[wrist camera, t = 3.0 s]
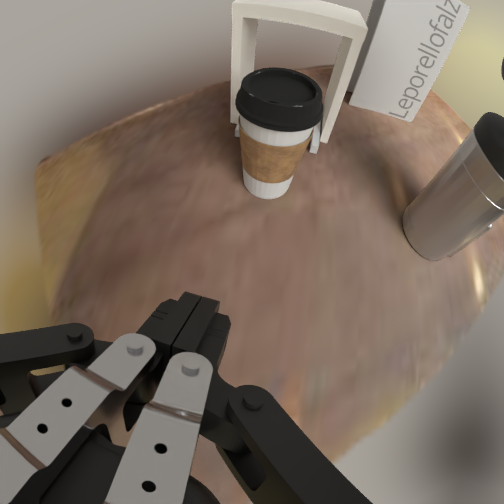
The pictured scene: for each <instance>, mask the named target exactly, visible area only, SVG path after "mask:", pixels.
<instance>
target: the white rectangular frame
mask: <svg viewBox="0 0 504 504" xmlns="http://www.w3.org/2000/svg"><path fill="white" fill-rule="evenodd" d="M258 19H264V20H272V21H279V22H285V23H291V24H296V25H301V26H306V27H310V28H316V29H319V30H324V31H327V32H331V33H335V34H338V35H342V36H343V37H342V41H341V44H340V48H339V51H338V54H337V58H336V61H335V65H334V68H333V71H332V75H331V78H330V82H329V85H328V88H327V92H326V95H325V98H324V102H323V114H322V118H321V121H320V122H319V123H318V124H317V125H315V126H314V132H313V135H312V137H311V144H310V153H314V154H316V153H317V150H318V147H319V141H320V142H324V143H327V142H328V139H329V137H330V134H331V131H332V129H333V126H334V123H335V120H336V118H337V115H338V112H339V109H340V107H341V104H342V101H343V98H344V96H345V93H346V90H347V87H348V84H349V81H350V79H351V76H352V73H353V70H354V67H355V64H356V61H357V58H358V55H359V52H360V49H361V46H362V43H363V42H364V40H365V37H366V34H367V31H368V28H367V26H366V24H365V22H364V20H363V18H362V16H361V14H360V12H359V11H356V10H353V9H350V8H346V7H343V6H340V5H336V4H332V3H328V2H324V1H320V0H235V1H234V2H233V3H232V52H231V116H230V123H235V124H237V126H236V128H235V137H240V135H239V125H238V117H239V112H238V111H237V109H236V105H235V100H236V95H237V93H238V90H239V89H240V87H241V83H242V80H243V78H244V77H245V76H246V75H248V74H249V73H251V72H253V71H254V62H255V50H256V38H257V27H258ZM320 125H321V128H320ZM319 137H320V140H319Z"/></svg>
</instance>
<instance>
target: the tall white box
mask: <svg viewBox="0 0 504 504" xmlns="http://www.w3.org/2000/svg"><path fill="white" fill-rule="evenodd" d="M469 10H470V8H469V7H468V6H466V5H465V4H463V3H462V2H460V1H459V0H373V3H372V6H371V10H370V13H369V16H368V19H367V23H366V26H367V28H368V31H367V34H366V37H365V40H364V42H363V43H362V46H361V49H360V52H359V55H358V58H357V61H356V64H355V67H354V70H353V73H352V76H351V79H350V81H349V84H348V87H347V90H346V91H348V92H353V93H352V96H351V98H350V101H349V103H348V104H349V105H352V106H356V107H360V108H364V109H368V110H372V111H376V112H379V113H383V114H386V115H389V116H393V117H396V118H399V119H402V120H405V121H408V122H412V120H413V118H414V117H415V115H416V113H417V112H418V110H419V108H420V106H421V105H422V103H423V101H424V99H425V98H426V96H427V94H428V92H429V91H430V89H431V87H432V85H433V83H434V81H435V80H436V78H437V76H438V74H439V72H440V70H441V68H442V66H443V64H444V63H445V60H446V58H447V57H448V55H449V53H450V51H451V49H452V47H453V45H454V43H455V41H456V39H457V36H458V34H459V32H460V30H461V28H462V26H463V24H464V21H465V19H466V17H467V15H468V12H469Z"/></svg>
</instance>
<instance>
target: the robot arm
mask: <svg viewBox="0 0 504 504" xmlns="http://www.w3.org/2000/svg"><path fill="white" fill-rule="evenodd" d="M502 77H503V80H504V59H503V62H502ZM502 215H504V117H502V116H500V115H498V114H496V113H492V112H488V113H485V114H484V115H483V116H482V117H481V118H480V120H479V121H478V122H477V124H476V125H475V127H474V128H473V129H472V130H471V132H470V133H469V134H468V136H467V137H466V138H465V140H464V141H463V142H462V144H461V145H460V146H459V147H458V149H457V150H456V151H455V152H454V154H453V155H452V156H451V157H450V159H449V160H448V161H447V162H446V163H445V165H444V166H443V167H442V168H441V169H440V171H439V172H438V173H437V174H436V175H435V176H434V178H433V179H432V180H431V181H430V182H429V183H428V185H427V186H426V187H425V188H424V189H423V190H422V191H421V192H420V194H419V195H418V196H417V197H416V198H415V199H414V200H413V201H412V202H411V203H410V205H409V206H408V207H407V208H406V209H405V211H404V214H403V228H404V231H405V235H406V237H407V239H408V241H409V242H410V244H411V245H412V247H413V248H414V249H415V250H416V251H417V252H418V253H419V254H420V255H421V256H423V257H424V258H426V259H429V260H432V261H438V260H441V259H443V258H444V257H446V256H449V257H451V256H453V255H454V254H456V253H457V252H459V251H460V250H462V249H463V248H465V247H466V246H468V245H469V244H470V243H472V242H473V241H475V240H476V239H478V238H479V237H480V236H482V235H483V234H484V233H486V232H487V231H489V230H490V229H491V228H492V223H493V222H495V221H496V220H497V219H499V218H500V217H501V216H502ZM219 304H220V301H217V300H213V299H210V298H206V297H202V296H199V295H196V294H192V293H189V292H184V293H183V295H182V296H181V297H180V299H179V300H178V301H176V300H173V299H169V300H167V301H165V302H162V303H161V304H160V305H159V306H158V307H157V309H156V310H155V311H154V312H153V313H152V314H151V316H150V317H149V318H148V319H147V320H146V321H145V323H144V324H143V325H142V326H141V327H140V329H139V330H138V331H137V332H136V333H131V334H125V335H123V336H121V337H119V338H118V339H117V340H116V341H115V342H114V343H113V342H106V341H100V340H95V339H94V334H93V331H92V330H91V329H90V328H89V327H88V326H86V325H83V324H80V323H70V324H64V325H58V326H52V327H46V328H40V329H34V330H28V331H21V332H14V333H6V334H0V504H220V503H219V501H218V500H217V498H216V497H215V496H214V495H213V493H212V492H211V491H210V490H209V489H208V488H207V487H206V486H204V485H203V484H202V483H201V482H200V481H198V480H197V479H195V478H194V477H192V476H190V474H191V469H192V464H193V460H194V455H195V451H196V446H197V442H198V437H199V434H200V435H202V436H204V437H205V438H207V439H209V440H210V441H212V442H214V443H215V445H216V448H217V450H218V452H219V454H220V455H221V457H222V458H223V460H224V462H225V463H226V465H227V466H228V468H229V469H230V471H231V472H232V474H233V475H234V477H235V478H236V480H237V481H238V483H239V484H240V486H241V487H242V489H243V490H244V491H245V493H246V494H247V496H248V497H249V498H250V500H251V501H252V502H253V504H373V503H371V502H370V501H369V500H368V499H367V498H366V497H365V496H364V495H363V494H362V493H361V492H360V491H359V490H358V489H356V487H355V486H353V484H351V482H350V481H348V480H347V479H346V478H345V476H343V474H342V473H341V472H340V471H339V470H338V469H337V468H336V467H335V466H334V465H333V464H332V463H331V462H330V461H329V460H328V459H327V458H326V457H325V456H324V455H323V454H322V452H321V451H320V450H319V449H318V448H317V447H316V446H315V445H314V444H313V443H312V442H311V440H310V439H309V438H308V437H307V436H306V435H305V434H304V433H303V432H302V430H301V429H300V428H299V427H298V426H297V425H296V424H295V422H294V421H293V420H292V419H291V418H290V417H289V415H288V414H287V413H286V412H285V411H284V409H283V408H282V407H281V406H280V405H279V403H278V402H277V401H276V400H275V399H274V397H273V396H272V395H271V394H270V393H269V392H268V391H266V390H265V389H263V388H261V387H258V386H254V385H242V386H239V387H237V388H235V387H233V386H231V385H229V384H228V383H226V382H225V381H224V380H223V379H222V378H221V377H220V376H219V374H218V369H219V366H220V363H221V360H222V357H223V354H224V351H225V347H226V343H227V338H228V334H229V330H230V326H231V323H230V320H229V317H228V316H227V315H223V314H219V313H218V310H219ZM57 365H63V367H64V370H65V371H61V372H56V373H51V374H45V375H40V376H35V375H33V374H31V373H30V371H32V370H36V369H42V368H48V367H52V366H57Z"/></svg>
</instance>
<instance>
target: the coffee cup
mask: <svg viewBox="0 0 504 504" xmlns="http://www.w3.org/2000/svg"><path fill="white" fill-rule="evenodd" d="M235 105H236V109H237V111H238V112H239V117H238V125H239V135H240V146H241V156H242V164H243V180H244V185H245V187H246V188H247V190H248V191H249V192H250V193H251V194H253V195H255V196H257V197H259V198H263V199H274V198H277V197H280V196H282V195H283V194H284V193H285V192H286V191H287V190H288V187H289V185H290V183H291V180H292V178H293V176H294V174H295V172H296V170H297V167H298V165H299V163H300V161H301V159H302V156H303V154H304V152H305V150H306V148H307V146H308V143H309V141H310V139H311V137H312V135H313V132H314V126H315V125H317V124H318V123H319V122H320V121H321V118H322V114H323V104H322V91H321V88H320V87H319V85H318V84H317V83H316V82H315V81H314V80H313V79H311V78H310V77H308V76H306V75H304V74H302V73H300V72H297V71H294V70H290V69H285V68H263V69H260V70H256V71H253V72H251V73H249V74H248V75H246V76H245V77H244V78H243V80H242V83H241V87H240V89H239V90H238V93H237V95H236V100H235Z"/></svg>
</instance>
